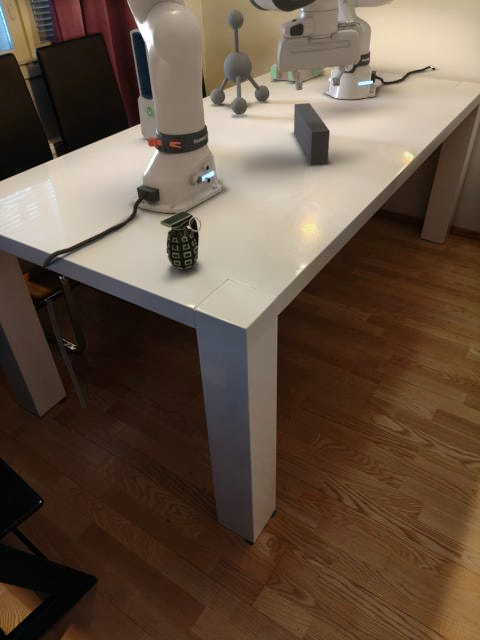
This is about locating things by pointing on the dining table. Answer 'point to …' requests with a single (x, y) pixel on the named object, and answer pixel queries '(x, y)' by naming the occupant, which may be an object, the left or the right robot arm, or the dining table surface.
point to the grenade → (182, 240)
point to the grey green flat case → (301, 76)
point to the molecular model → (238, 71)
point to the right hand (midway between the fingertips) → (329, 4)
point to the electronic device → (144, 85)
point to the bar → (311, 134)
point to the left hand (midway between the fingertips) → (317, 87)
